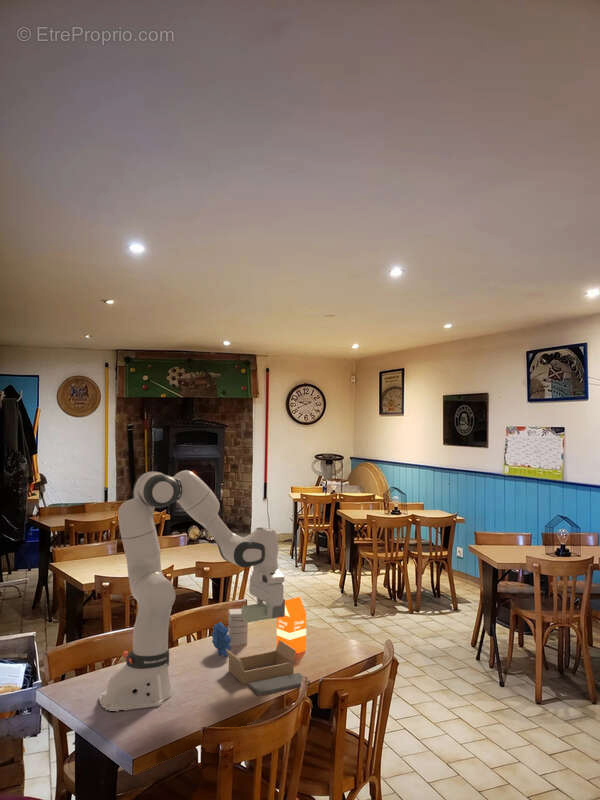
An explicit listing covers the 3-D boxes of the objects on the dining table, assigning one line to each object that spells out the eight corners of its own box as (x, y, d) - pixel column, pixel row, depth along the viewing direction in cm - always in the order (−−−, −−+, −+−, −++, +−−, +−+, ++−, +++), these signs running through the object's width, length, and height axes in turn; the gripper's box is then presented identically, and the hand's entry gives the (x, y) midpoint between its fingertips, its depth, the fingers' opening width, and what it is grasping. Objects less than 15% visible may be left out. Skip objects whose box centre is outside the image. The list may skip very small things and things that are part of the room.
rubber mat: (259, 695, 196) (259, 692, 196) (248, 686, 203) (249, 683, 203) (309, 684, 205) (309, 681, 205) (298, 675, 212) (298, 672, 212)
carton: (240, 685, 204) (240, 661, 204) (225, 671, 215) (225, 649, 216) (296, 673, 215) (296, 650, 215) (279, 660, 226) (279, 639, 227)
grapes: (203, 653, 233) (204, 621, 234) (218, 649, 237) (219, 618, 238) (220, 662, 224) (220, 629, 225) (235, 658, 228) (235, 625, 229)
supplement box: (227, 640, 248) (228, 608, 249) (245, 639, 250) (246, 608, 250) (229, 646, 241) (229, 614, 242) (247, 645, 242) (248, 613, 243)
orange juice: (276, 650, 237) (276, 598, 238) (293, 645, 243) (293, 594, 244) (289, 656, 231) (290, 602, 232) (306, 650, 237) (306, 598, 238)
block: (246, 622, 209) (247, 604, 210) (241, 619, 213) (241, 601, 214) (284, 616, 217) (285, 599, 217) (278, 613, 221) (279, 596, 221)
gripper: (245, 568, 224) (244, 606, 223) (270, 580, 206) (270, 621, 205) (260, 567, 227) (260, 604, 226) (286, 578, 209) (286, 619, 208)
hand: (265, 612), depth 215 cm, fingers closed on block, 4 cm apart
